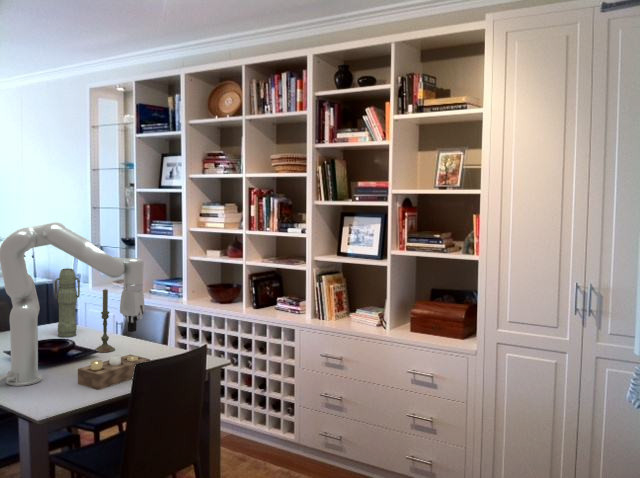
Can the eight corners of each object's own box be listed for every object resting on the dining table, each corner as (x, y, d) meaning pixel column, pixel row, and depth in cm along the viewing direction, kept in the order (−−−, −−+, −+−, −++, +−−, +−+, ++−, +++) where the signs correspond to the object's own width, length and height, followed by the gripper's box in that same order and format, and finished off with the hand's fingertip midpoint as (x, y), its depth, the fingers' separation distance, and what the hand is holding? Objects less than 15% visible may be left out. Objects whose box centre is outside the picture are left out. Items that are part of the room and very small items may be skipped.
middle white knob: (114, 372, 230) (114, 358, 229) (107, 370, 232) (107, 356, 232) (123, 369, 234) (123, 356, 233) (115, 367, 236) (115, 354, 235)
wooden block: (98, 389, 219) (98, 374, 218) (77, 383, 225) (77, 368, 224) (149, 373, 241) (150, 359, 241) (130, 368, 247) (130, 354, 247)
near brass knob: (95, 377, 222) (95, 363, 222) (88, 375, 224) (88, 361, 224) (104, 375, 226) (105, 361, 225) (97, 372, 228) (97, 359, 228)
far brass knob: (132, 372, 238) (132, 359, 237) (124, 370, 240) (124, 357, 239) (140, 369, 241) (140, 356, 241) (132, 367, 244) (133, 355, 243)
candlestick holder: (93, 353, 268) (93, 289, 265) (95, 348, 276) (96, 286, 274) (114, 352, 270) (114, 289, 268) (115, 347, 279) (116, 286, 277)
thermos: (53, 334, 299) (53, 268, 297) (78, 332, 305) (78, 267, 302) (55, 338, 292) (55, 270, 289) (80, 336, 297) (80, 269, 295)
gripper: (113, 286, 239) (112, 330, 240) (138, 291, 231) (137, 335, 232) (128, 284, 245) (126, 327, 246) (152, 289, 238) (151, 332, 239)
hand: (131, 331), depth 239 cm, fingers closed
